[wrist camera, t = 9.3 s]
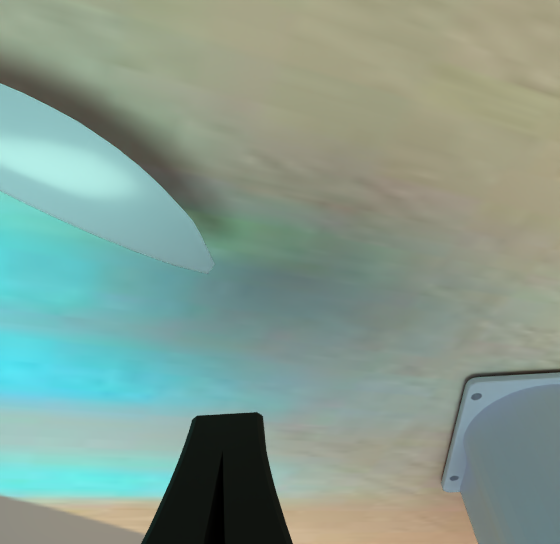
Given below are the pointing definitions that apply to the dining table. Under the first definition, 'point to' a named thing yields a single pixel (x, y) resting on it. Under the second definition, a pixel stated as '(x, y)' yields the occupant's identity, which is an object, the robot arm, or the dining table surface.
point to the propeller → (91, 184)
